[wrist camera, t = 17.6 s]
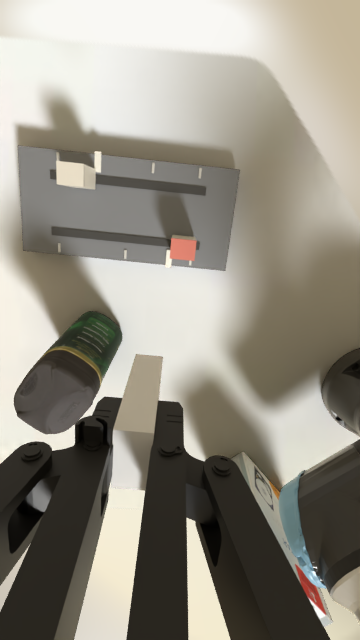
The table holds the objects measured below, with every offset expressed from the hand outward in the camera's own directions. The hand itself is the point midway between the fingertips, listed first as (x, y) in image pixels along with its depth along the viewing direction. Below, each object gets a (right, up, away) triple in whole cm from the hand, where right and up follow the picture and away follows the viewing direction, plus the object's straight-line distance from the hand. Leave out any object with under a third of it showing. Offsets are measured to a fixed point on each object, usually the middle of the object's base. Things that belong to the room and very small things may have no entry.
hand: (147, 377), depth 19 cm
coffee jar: (-12, 0, +34) cm, 36 cm away
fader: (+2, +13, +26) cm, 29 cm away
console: (-5, +19, +28) cm, 34 cm away
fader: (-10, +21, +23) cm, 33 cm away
